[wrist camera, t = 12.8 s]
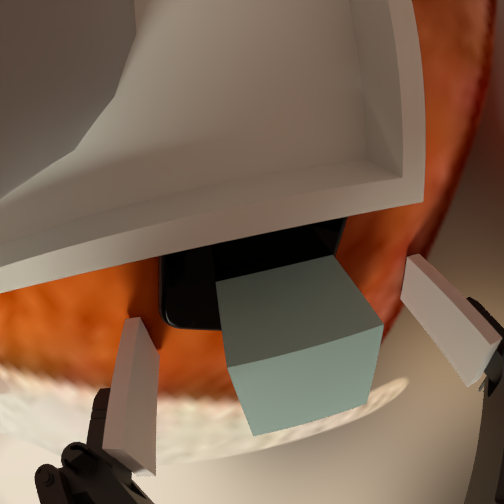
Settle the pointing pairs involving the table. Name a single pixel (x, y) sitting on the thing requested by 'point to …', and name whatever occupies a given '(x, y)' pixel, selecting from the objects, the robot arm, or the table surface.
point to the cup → (56, 77)
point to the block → (298, 343)
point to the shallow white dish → (230, 135)
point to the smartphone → (234, 268)
